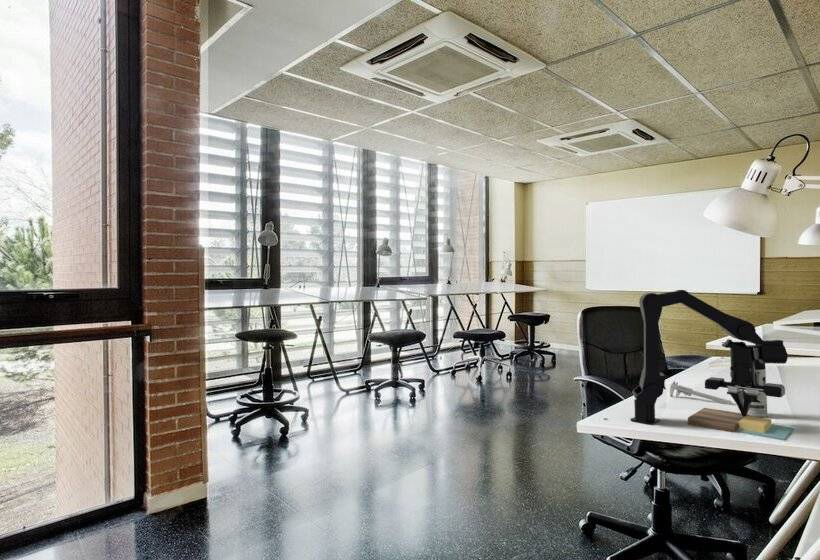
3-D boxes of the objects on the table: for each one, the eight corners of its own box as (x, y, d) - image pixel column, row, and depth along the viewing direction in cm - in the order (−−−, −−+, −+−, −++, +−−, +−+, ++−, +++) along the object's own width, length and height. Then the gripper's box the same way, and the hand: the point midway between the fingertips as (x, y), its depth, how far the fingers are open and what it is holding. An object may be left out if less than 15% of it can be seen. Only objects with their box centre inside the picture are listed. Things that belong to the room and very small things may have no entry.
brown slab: (734, 432, 134) (734, 425, 134) (687, 424, 143) (687, 417, 143) (749, 420, 145) (748, 414, 145) (704, 413, 154) (704, 407, 154)
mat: (784, 440, 126) (784, 438, 126) (737, 432, 134) (737, 430, 134) (794, 429, 136) (794, 427, 136) (750, 421, 144) (750, 420, 144)
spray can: (739, 415, 151) (737, 352, 152) (744, 411, 156) (742, 350, 156) (765, 419, 146) (762, 354, 147) (769, 414, 151) (766, 351, 152)
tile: (764, 433, 132) (764, 425, 132) (738, 428, 136) (738, 421, 136) (771, 426, 138) (771, 419, 138) (746, 422, 142) (746, 415, 142)
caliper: (670, 397, 178) (669, 380, 178) (670, 397, 179) (670, 380, 179) (735, 406, 164) (734, 387, 164) (735, 405, 165) (734, 387, 165)
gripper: (787, 362, 138) (790, 416, 138) (714, 357, 152) (716, 405, 151) (779, 367, 130) (782, 424, 130) (703, 361, 144) (705, 412, 144)
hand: (744, 416), depth 139 cm, fingers closed
